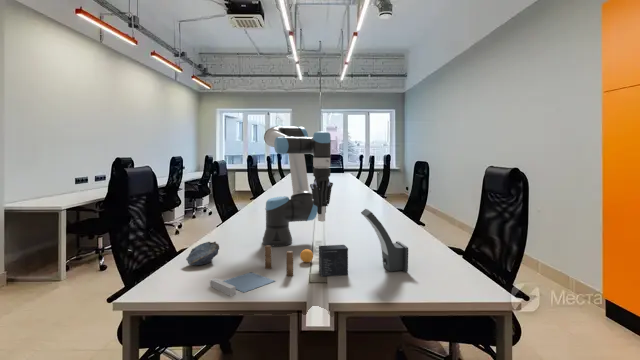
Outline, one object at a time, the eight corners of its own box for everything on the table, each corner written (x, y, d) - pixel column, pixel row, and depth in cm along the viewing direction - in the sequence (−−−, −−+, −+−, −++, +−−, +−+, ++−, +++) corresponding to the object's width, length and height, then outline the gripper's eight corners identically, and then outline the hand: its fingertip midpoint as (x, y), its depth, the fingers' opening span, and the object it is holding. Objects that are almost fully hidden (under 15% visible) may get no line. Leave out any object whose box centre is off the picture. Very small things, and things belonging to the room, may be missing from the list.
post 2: (285, 275, 138) (284, 252, 137) (289, 273, 140) (289, 250, 139) (289, 276, 136) (289, 253, 136) (294, 275, 138) (294, 252, 138)
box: (344, 269, 145) (344, 244, 144) (348, 275, 139) (348, 248, 138) (318, 271, 143) (318, 245, 142) (321, 276, 137) (321, 249, 136)
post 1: (263, 268, 146) (263, 246, 146) (268, 266, 148) (268, 244, 148) (267, 269, 145) (267, 247, 144) (272, 267, 147) (272, 246, 146)
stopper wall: (210, 286, 127) (210, 279, 126) (215, 284, 128) (215, 278, 128) (230, 295, 119) (230, 288, 118) (235, 294, 120) (235, 286, 120)
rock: (226, 259, 158) (210, 251, 163) (223, 244, 154) (207, 236, 159) (197, 280, 146) (181, 271, 151) (194, 265, 143) (177, 256, 148)
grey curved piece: (358, 266, 150) (359, 207, 148) (398, 263, 152) (399, 206, 150) (366, 275, 139) (367, 212, 137) (408, 272, 142) (410, 211, 140)
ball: (297, 262, 154) (297, 249, 154) (306, 259, 158) (306, 246, 158) (307, 265, 150) (307, 252, 150) (315, 261, 155) (315, 249, 154)
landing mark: (220, 282, 131) (220, 281, 131) (251, 272, 141) (251, 272, 141) (243, 292, 121) (243, 292, 121) (275, 281, 132) (275, 280, 132)
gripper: (318, 168, 151) (317, 224, 153) (338, 167, 161) (337, 219, 163) (305, 167, 155) (304, 222, 158) (325, 166, 166) (325, 217, 168)
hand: (321, 220), depth 160 cm, fingers closed
